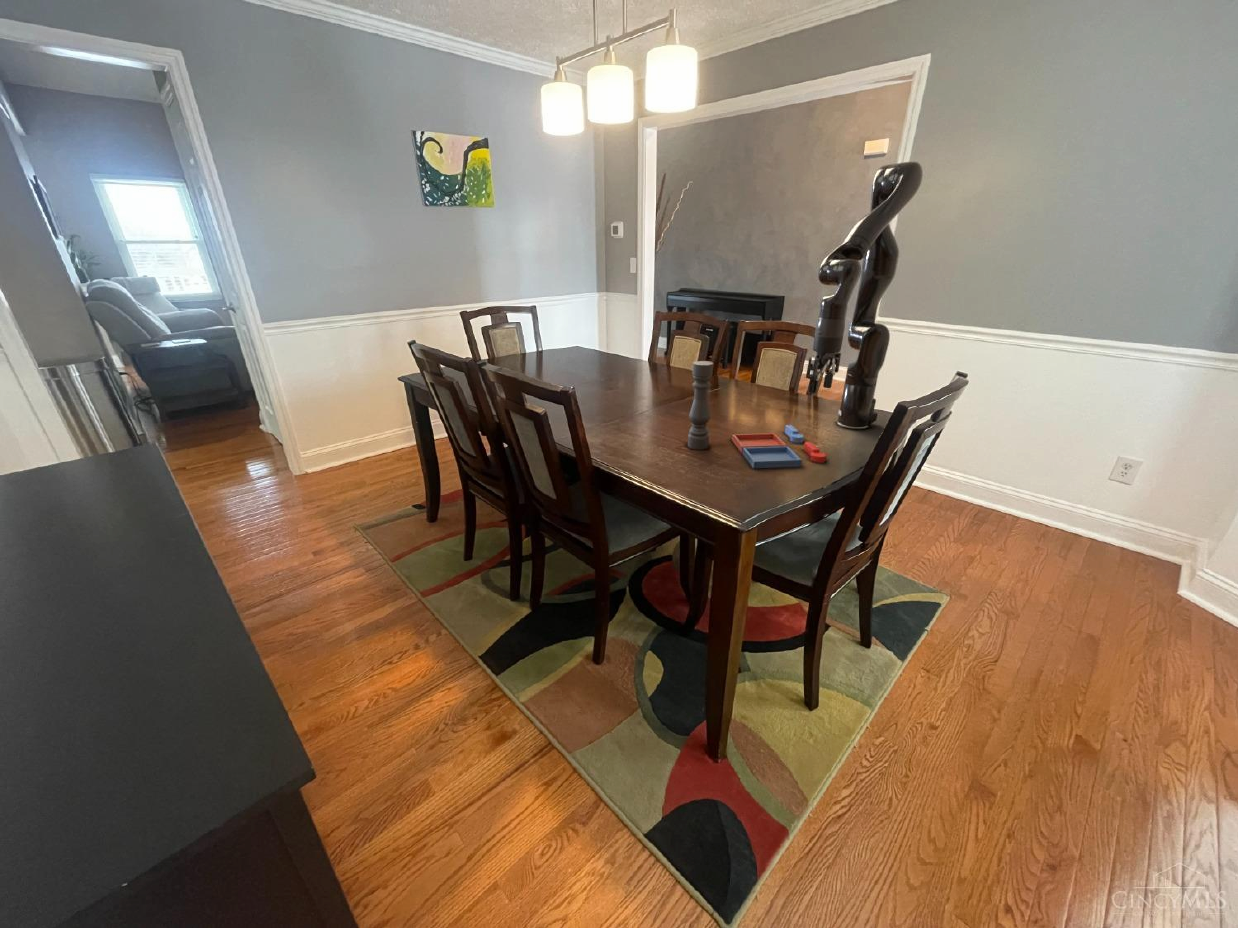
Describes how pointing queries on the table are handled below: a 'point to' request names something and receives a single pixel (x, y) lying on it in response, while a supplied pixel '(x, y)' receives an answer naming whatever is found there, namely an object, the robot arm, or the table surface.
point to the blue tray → (771, 457)
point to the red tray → (757, 440)
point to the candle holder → (700, 405)
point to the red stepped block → (814, 452)
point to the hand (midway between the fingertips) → (819, 390)
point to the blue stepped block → (794, 434)
